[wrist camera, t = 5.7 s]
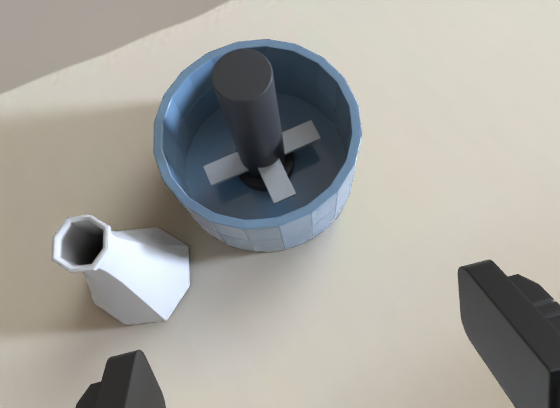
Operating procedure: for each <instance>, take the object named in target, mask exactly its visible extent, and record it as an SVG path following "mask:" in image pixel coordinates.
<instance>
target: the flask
mask: <svg viewBox="0 0 560 408" xmlns="http://www.w3.org/2000/svg"><path fill="white" fill-rule="evenodd" d="M52 261H54V262H55V263H57V264H58V265H60V266H61V267H63V268H64V269H66V270H67V271H69V272H71V273H77V272H83V273H84V276H85V278H86V281H87V283H88V286H89V288H90V292H91V296H92V299H93V302H94V304H95V305H97V306H98V307H100V308H101V309H103V310H104V311H106V312H107V313H108V314H110V315H111V316H113V317H114V318H116V319H117V320H119V321H120V322H122V323H123V324H125V325H134V324H143V323H153V322H163V321H167V320H168V318H169V317H170V315H171V314H172V312H173V310H174V309H175V307H176V306H177V304H178V303H179V301H180V300H181V298H182V297H183V295H184V294H185V292H186V291H187V289H188V288H189V286H190V277H189V249H188V245H186V244H184V243H183V242H181V241H179V240H178V239H176V238H174V237H173V236H171V235H170V234H168V233H166V232H165V231H163V230H161V229H160V228H158V227H150V228H141V229H132V230H123V231H111V227H110V226H108V225H107V224H105V223H103V222H102V221H100V220H99V219H97V218H95V217H94V216H92V215H81V216H72V217H67V218H66V220H65V221H64V222H63V224H62V225H61V226H60V228H59V229H58V230H57V232H56V233H55V234H54V236H53V241H52Z"/></svg>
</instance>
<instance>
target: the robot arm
mask: <svg viewBox="0 0 560 408" xmlns="http://www.w3.org/2000/svg"><path fill="white" fill-rule="evenodd" d="M458 284H459V298H460V312H461V320H462V323H463V327H464V329H465V332H466V334H467V336H468V338H469V340H470V341H471V343H472V344H473V346H474V347H475V349H476V350H477V352H478V353H479V355H480V356H481V358H482V359H483V361H484V362H485V364H486V365H487V366H488V368H489V369H490V371H491V372H492V374H493V375H494V377H495V378H496V380H497V381H498V383H499V384H500V386H501V387H502V389H503V390H504V392H505V393H506V394H507V396H508V397H509V399H510V400H511V402H512V403H513V405H514V406H515V408H560V305H559V304H558V303H557V302H554V299H553V298H552V297H551V296H550V295H549V294H548V293H547V292H546V291H545V290H544V289H543V288H542V287H541V286H540V285H539V284H537V283H535V282H533V281H531V280H529V279H527V278H525V277H523V276H521V275H519V274H516V275H513V276H509V277H507V276H506V275H505V274H504V272H503V271H502V270H501V269H500V268H499V267H498V266H497V265H496V264H495V263H494V262H493V261H492V260H485V261H481V262H477V263H473V264H470V265H466V266H462V267H459V269H458ZM76 408H166V406H165V401H164V397H163V394H162V391H161V389H160V387H159V385H158V382H157V380H156V378H155V376H154V374H153V372H152V369H151V367H150V365H149V363H148V361H147V359H146V356H145V355H144V353H143V352H142V351H141V350H136V351H132V352H128V353H124V354H120V355H117V356H113V357H110V358H109V359H108V360H107V363H106V366H105V370H104V373H103V377H102V381H101V382H98V383H94V384H91V385H90V386H89V388H88V389H87V390H86V392H85V393H84V394H83V396H82V397H81V399H80V400H79V401H78V403H77V405H76Z"/></svg>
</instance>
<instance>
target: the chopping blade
mask: <svg viewBox="0 0 560 408" xmlns="http://www.w3.org/2000/svg"><path fill="white" fill-rule="evenodd" d="M212 84H213V87H214V89H215V92H216V95H217V97H218V100H219V103H220V106H221V108H222V111H223V114H224V116H225V119H226V122H227V124H228V127H229V130H230V132H231V135H232V138H233V141H234V143H235V146H236V152H235V153H233V154H231V155H229V156H226V157H224V158H222V159H219V160H217V161H215V162H212V163H210V164H208V165H205V166H203V167H204V170H205V172H206V174H207V177H208V179H209V181H210V184H211V186H212V187H213V186H215V185H217V184H220V183H222V182H224V181H226V180H229V179H231V178H233V177H236V176H238V177H239V178H240V180H241V181H242V182H243V183H244V184H245V185H246V186H248V187H249V188H251V189H254V190H257V191H268V192H269V194H270V196H271V198H272V201H273V203H274V205H275V204H277V203H280V202H282V201H284V200H286V199H289V198H291V197H293V196H295V195H296V193H295V190H294V188H293V186H292V184H291V182H290V180H289V178H290V177H291V175H292V173H293V169H294V154H293V151H296V150H298V149H300V148H303V147H305V146H307V145H310V144H312V143H314V142H317V141H319V140H321V137H320V136H319V134H318V132H317V130H316V128H315V126H314V124H313V122H312V120H310V121H308V122H305V123H303V124H301V125H298V126H296V127H294V128H291V129H289V130H287V131H284V132H282V130H281V123H280V116H279V110H278V103H277V96H276V90H275V83H274V77H273V70H272V66H271V64H270V62H269V60H268V59H267V58H266V57H265V56H264V55H263V54H261V53H260V52H258V51H255V50H252V49H236V50H233V51H230V52H228V53H226V54H225V55H223V56H222V57H221V58H220V59H219V60H218V61H217V63H216V64H215V66H214V68H213V71H212Z"/></svg>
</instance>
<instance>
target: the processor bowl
mask: <svg viewBox="0 0 560 408" xmlns="http://www.w3.org/2000/svg"><path fill="white" fill-rule="evenodd" d="M236 49H252V50H255V51H258V52H260V53H261V54H263V55H264V56H265V57H266V58H267V59H268V60H269V62H270V64H271V66H272V70H273V77H274V83H275V90H276V96H277V103H278V110H279V116H280V123H281V130H282V132H284V131H287V130H289V129H291V128H294V127H296V126H298V125H301V124H303V123H305V122H308V121H310V120H312V122H313V124H314V126H315V128H316V130H317V132H318V134H319V136H320V137H321V140H319V141H317V142H314V143H312V144H310V145H307V146H305V147H303V148H300V149H298V150H296V151H293V154H294V169H293V173H292V175H291V177H290V178H289V180H290V182H291V184H292V186H293V188H294V190H295V193H296V195H295V196H293V197H291V198H289V199H286V200H284V201H282V202H280V203H277V204H275V205H274V203H273V201H272V198H271V196H270V194H269V192H268V191H257V190H254V189H251V188H249V187H248V186H246V185H245V184H244V183H243V182H242V181H241V180H240V178H239V177H238V176H236V177H233V178H231V179H229V180H226V181H224V182H222V183H220V184H217V185H215V186H213V187H212V186H211V184H210V181H209V179H208V177H207V174H206V172H205V170H204V167H203V166H205V165H208V164H210V163H212V162H215V161H217V160H219V159H222V158H224V157H226V156H229V155H231V154H233V153H235V152H236V146H235V143H234V141H233V138H232V135H231V132H230V130H229V127H228V124H227V122H226V119H225V116H224V114H223V111H222V108H221V106H220V103H219V100H218V97H217V95H216V92H215V89H214V87H213V84H212V71H213V68H214V66H215V64H216V63H217V61H218V60H219V59H220V58H221V57H222V56H223V55H225V54H226V53H228V52H230V51H233V50H236ZM361 137H362V130H361V122H360V114H359V106H358V103H357V101H356V99H355V97H354V95H353V93H352V91H351V89H350V87H349V85H348V83H347V81H346V79H345V78H344V77H343V76H342V75H341V74H340V73H339V72H338V71H337V70H336V69H335V68H334V67H333V66H332V65H331V64H330V63H329V62H328V61H327V60H325V59H324V58H323V57H321V56H319V55H317V54H315V53H313V52H311V51H309V50H307V49H305V48H303V47H301V46H299V45H296V44H293V43H287V42H281V41H276V40H270V39H262V40H252V41H242V42H235V43H232V44H230V45H227V46H224V47H222V48H219V49H216V50H214V51H211V52H208V53H207V54H205V55H204V56H202V57H201V58H200V59H198V60H197V61H196V62H194V63H193V64H191V65H190V66H189V67H187V68H186V69H185V70H183V71H182V72H181V73H180V75H179V76H178V77H177V79H176V80H175V81H174V83H173V84H172V85H171V87H170V88H169V89H168V90H167V92H166V93H165V94H164V96H163V99H162V102H161V105H160V107H159V110H158V113H157V116H156V119H155V121H154V149H153V152H154V156H155V159H156V162H157V165H158V167H159V170H160V173H161V176H162V179H163V181H164V183H165V184H166V185H167V186H168V188H169V189H170V190H171V191H172V192H173V194H174V195H175V196H176V197H177V199H178V200H179V201H180V202H181V204H182V205H183V206H184V207H185V208H186V210H187V211H188V212H189V213H190V214H191V216H192V217H193V218H194V219H195V220H196V222H197V223H198V224H199V225H200V226H201V227H202V229H204V230H205V231H206V232H208V233H209V234H211V235H212V236H213V237H214V238H216V239H218V240H220V241H221V242H223V243H225V244H228V245H230V246H233V247H235V248H239V249H243V250H247V251H255V252H273V251H280V250H285V249H288V248H292V247H295V246H298V245H300V244H302V243H305V242H307V241H308V240H310V239H312V238H313V237H315V236H317V235H318V234H319V233H321V232H322V231H323V230H324V229H326V228H327V227H328V226H329V225H330V224H331V223H332V222H333V220H334V219H335V218H336V217H337V215H338V214H339V213H340V211H341V209H342V208H343V206H344V204H345V202H346V200H347V198H348V197H349V194H350V190H351V186H352V181H353V177H354V172H355V167H356V162H357V157H358V152H359V147H360V142H361Z"/></svg>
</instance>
